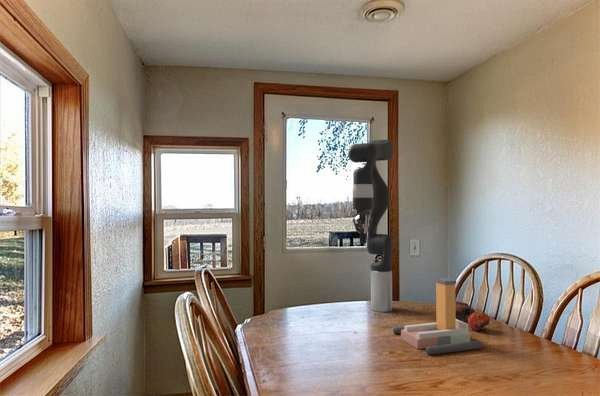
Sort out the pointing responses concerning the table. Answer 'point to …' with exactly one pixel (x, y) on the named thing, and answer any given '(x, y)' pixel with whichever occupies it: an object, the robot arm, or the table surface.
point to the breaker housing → (434, 334)
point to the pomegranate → (478, 320)
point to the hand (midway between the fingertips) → (363, 243)
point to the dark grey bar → (453, 347)
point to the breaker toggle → (445, 303)
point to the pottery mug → (463, 311)
